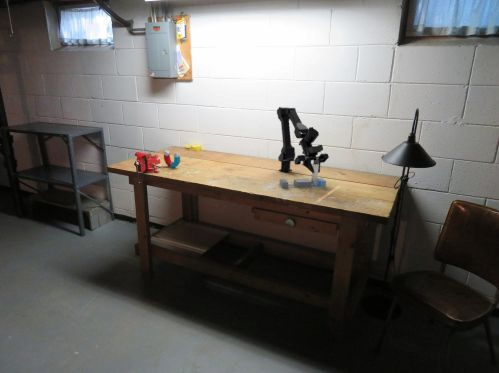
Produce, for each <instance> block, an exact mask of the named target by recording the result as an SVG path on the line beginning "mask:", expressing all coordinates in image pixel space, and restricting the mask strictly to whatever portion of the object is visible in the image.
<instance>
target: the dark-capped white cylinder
mask: <svg viewBox="0 0 499 373" xmlns="http://www.w3.org/2000/svg"><path fill="white" fill-rule="evenodd" d="M318 162H319V160H313V163H312V167H313V169H314V173H312V172H311V180H310V181H312V184H314V185H316V184H317V179H318V178H319V173H318V169H319V164H318Z"/></svg>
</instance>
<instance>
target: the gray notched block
mask: <svg viewBox="0 0 499 373" xmlns="http://www.w3.org/2000/svg"><path fill="white" fill-rule="evenodd" d="M278 184H279V186H280V187H281V188H282V189H298V188H299V189H302V188H325V187H327V186H326V185H327V180H325V179H324V178H323V177H318V179H317V184H316V185H314V184H312V181H311V180H310V179H309V178H293V183H292V184H291V183H289V181H288V180H287V179H286V178H281V179H279V183H278Z"/></svg>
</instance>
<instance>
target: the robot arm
mask: <svg viewBox="0 0 499 373" xmlns="http://www.w3.org/2000/svg"><path fill="white" fill-rule="evenodd" d="M276 115H277V118H278V120H279V121H280V124H281V125H280V126H281V135H282V147H281V149H280V154H279V155H278V157H277V160H278V161H279V163H280V168H279V169H278V171H279V172H285V173H289V172H292V171H293V169H291V162H294V165H296V166H297V165H302V166H304V167H305V168H307V169H308V171H310V172H311V174H312V173H314V169H313V163H312V161H314V160H319V162H318V164H319V169H318V174H319V173H320V172H321V163H323V164H324V163H325V162H326V161H327V160H328V159H329V158H330V157H329V154H328V153H326V152H325V153H321V152H322V151H324V146H323V145H322V144H318V145H314V146H313V143H314V142H315V141H316V140H317V138H318V137H319V136H320V133H319V131H318V130H317V129H315V128H314V127H313V126H310V127H307V125H304V124H303V122H302V120H301V118H300V117H299V115H298V113H297V110H296V107H291V106H279V107H278V108H277V109H276ZM290 122H291V124H292V126H293V127H294V131H293V133H294V135H295V138H296V139H301V140H299V143H298V146H301V149H302V153H301V154H298V155H297V156H296V149H295V147H294V146H293V145H292V140H291V129H290V127H291V126H290ZM319 153H320V154H319ZM318 154H319V156H318Z"/></svg>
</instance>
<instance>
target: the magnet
mask: <svg viewBox="0 0 499 373" xmlns="http://www.w3.org/2000/svg"><path fill="white" fill-rule="evenodd" d="M170 155H171V151H169V150H168V149H167V150H164V152H163V159H164V162H165V165H167V167H169V168H176V167H179V165H180V163H181V154H180V151H179V152H176V153H173V154H172V155H173V161H172V159H171V156H170Z"/></svg>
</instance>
